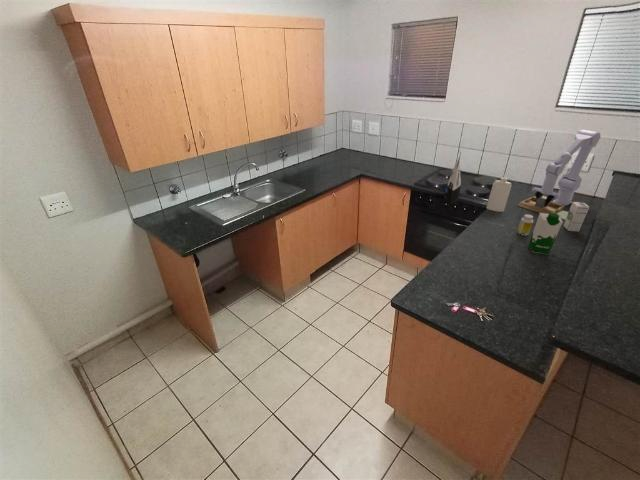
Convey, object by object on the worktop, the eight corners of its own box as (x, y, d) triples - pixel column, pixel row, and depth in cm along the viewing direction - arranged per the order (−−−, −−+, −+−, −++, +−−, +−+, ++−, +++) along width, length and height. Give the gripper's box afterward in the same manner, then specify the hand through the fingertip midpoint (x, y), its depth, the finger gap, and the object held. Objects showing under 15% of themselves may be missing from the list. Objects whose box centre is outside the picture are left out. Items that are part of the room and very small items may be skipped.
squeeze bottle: (486, 206, 198) (485, 209, 194) (495, 175, 188) (494, 178, 184) (504, 209, 193) (503, 212, 190) (513, 178, 183) (513, 180, 180)
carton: (532, 200, 205) (533, 195, 204) (562, 209, 192) (564, 205, 191) (518, 206, 197) (519, 202, 196) (549, 216, 184) (551, 212, 183)
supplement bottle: (531, 234, 167) (537, 217, 162) (523, 236, 165) (529, 219, 160) (522, 230, 171) (528, 212, 166) (514, 231, 170) (520, 214, 164)
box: (539, 204, 198) (543, 195, 195) (546, 207, 195) (550, 197, 192) (534, 207, 195) (537, 198, 191) (541, 210, 192) (544, 200, 188)
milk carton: (529, 253, 151) (544, 215, 141) (525, 244, 159) (539, 207, 148) (550, 256, 149) (567, 218, 139) (545, 247, 156) (561, 210, 146)
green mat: (561, 211, 191) (562, 210, 191) (575, 215, 186) (575, 214, 186) (552, 216, 185) (552, 215, 185) (565, 220, 180) (565, 219, 180)
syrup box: (579, 231, 169) (590, 206, 162) (566, 230, 170) (577, 206, 163) (574, 226, 174) (585, 202, 166) (562, 225, 175) (572, 201, 167)
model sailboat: (459, 192, 218) (469, 148, 203) (457, 205, 199) (468, 158, 184) (444, 190, 222) (453, 147, 206) (441, 203, 202) (451, 156, 187)
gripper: (532, 181, 190) (525, 202, 197) (559, 189, 180) (550, 210, 187) (538, 179, 194) (531, 200, 201) (565, 186, 183) (556, 208, 190)
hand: (541, 205), depth 194 cm, fingers closed on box, 4 cm apart
